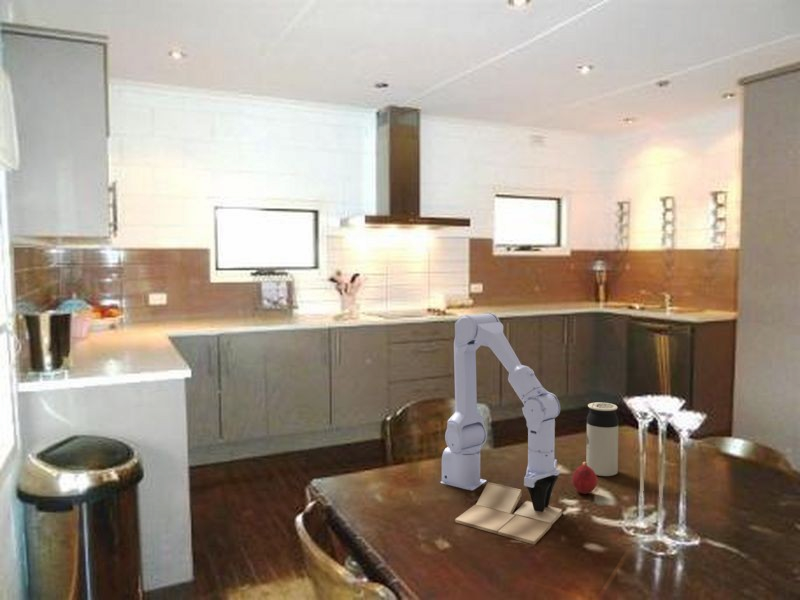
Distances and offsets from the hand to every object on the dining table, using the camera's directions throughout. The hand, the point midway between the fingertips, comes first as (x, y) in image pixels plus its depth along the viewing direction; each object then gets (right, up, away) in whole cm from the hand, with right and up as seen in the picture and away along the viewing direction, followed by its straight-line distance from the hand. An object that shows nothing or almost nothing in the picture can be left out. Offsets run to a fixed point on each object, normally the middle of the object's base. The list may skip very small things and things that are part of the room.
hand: (540, 508), depth 130 cm
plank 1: (-8, 0, +4) cm, 9 cm away
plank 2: (-1, -1, -1) cm, 2 cm away
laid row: (-10, -2, -6) cm, 11 cm away
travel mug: (+23, 0, +27) cm, 35 cm away
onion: (+13, -1, +11) cm, 17 cm away
